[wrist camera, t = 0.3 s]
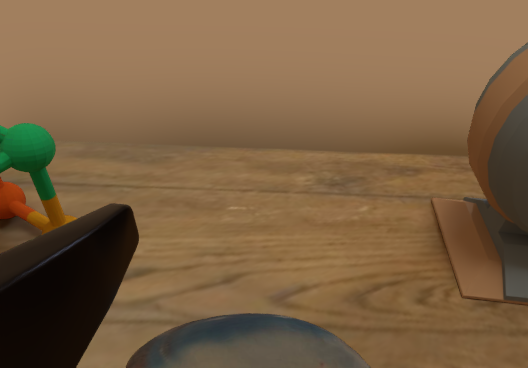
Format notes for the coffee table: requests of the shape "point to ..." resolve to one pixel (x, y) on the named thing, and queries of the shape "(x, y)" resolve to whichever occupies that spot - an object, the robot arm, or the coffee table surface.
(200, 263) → the coffee table surface
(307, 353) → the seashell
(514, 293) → the alarm clock
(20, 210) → the model
